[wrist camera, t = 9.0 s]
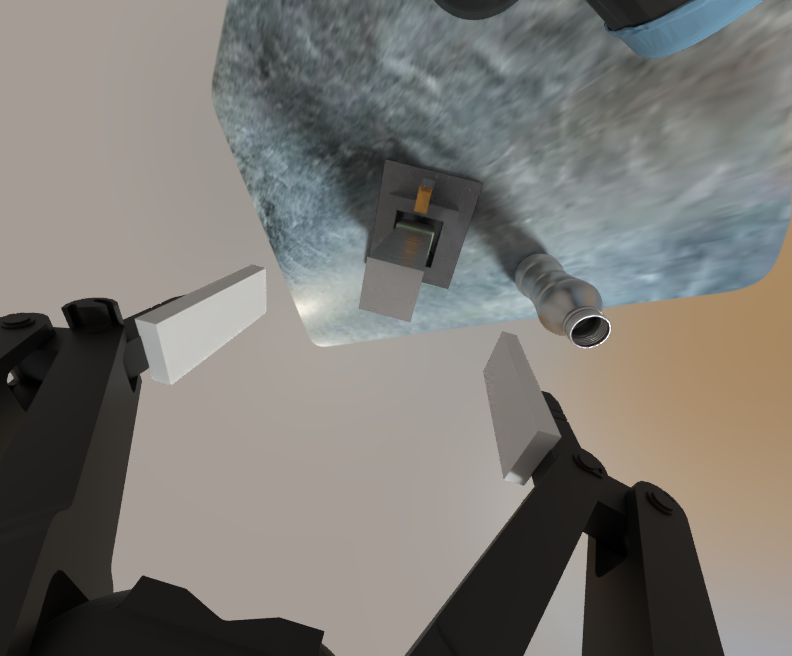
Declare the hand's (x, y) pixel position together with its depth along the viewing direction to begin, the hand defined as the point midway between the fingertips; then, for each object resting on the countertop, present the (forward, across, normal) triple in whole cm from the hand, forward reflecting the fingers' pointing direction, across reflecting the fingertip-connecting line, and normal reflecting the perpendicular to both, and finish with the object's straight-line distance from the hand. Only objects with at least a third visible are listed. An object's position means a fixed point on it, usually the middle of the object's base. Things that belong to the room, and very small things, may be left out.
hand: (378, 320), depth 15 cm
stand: (+33, 0, 0) cm, 33 cm away
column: (+25, 0, 0) cm, 25 cm away
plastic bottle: (+33, +19, -2) cm, 38 cm away
